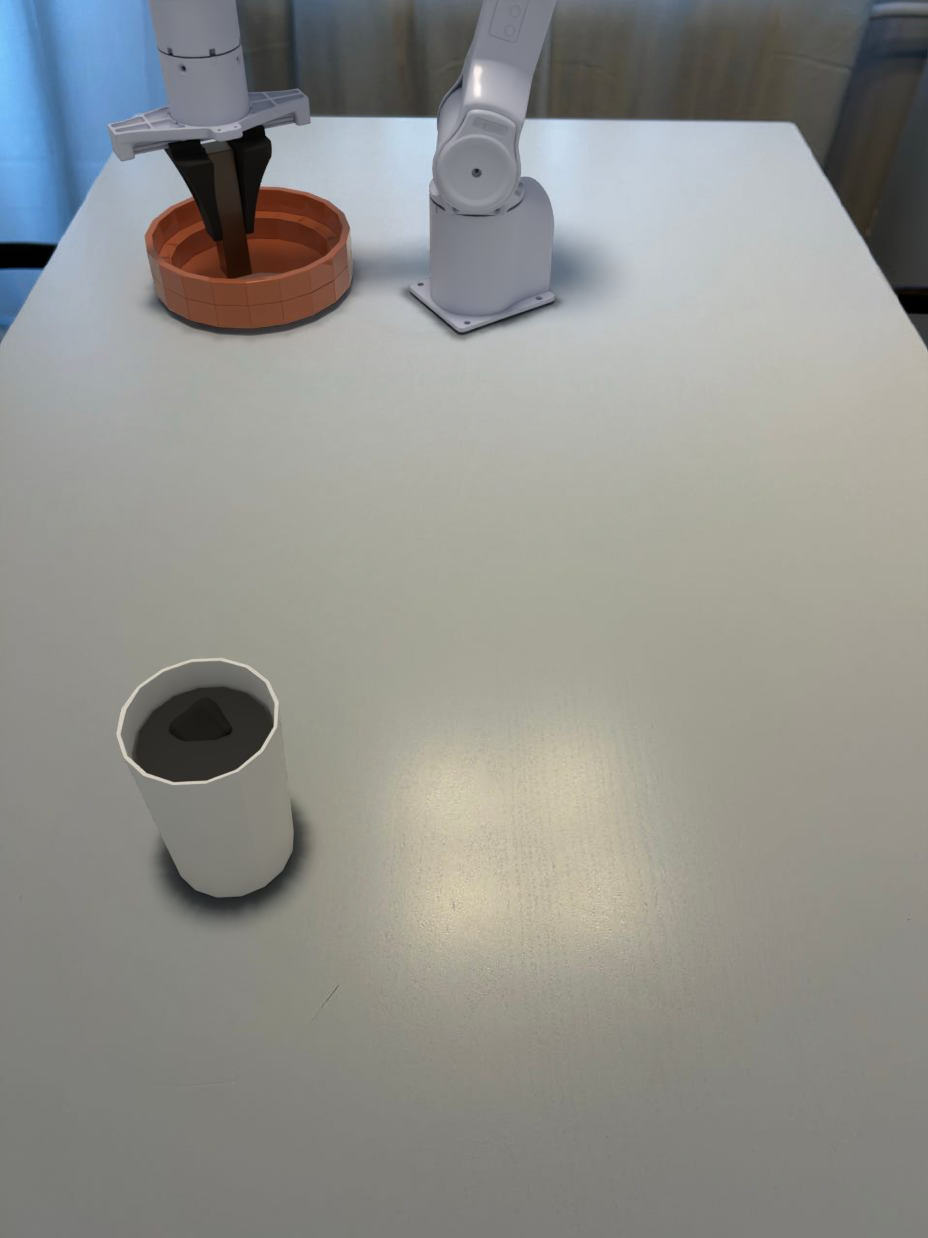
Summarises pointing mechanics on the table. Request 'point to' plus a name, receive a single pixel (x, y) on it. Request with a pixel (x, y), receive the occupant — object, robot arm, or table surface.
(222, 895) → the white cup
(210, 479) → the table surface
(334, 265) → the bowl
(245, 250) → the stick
